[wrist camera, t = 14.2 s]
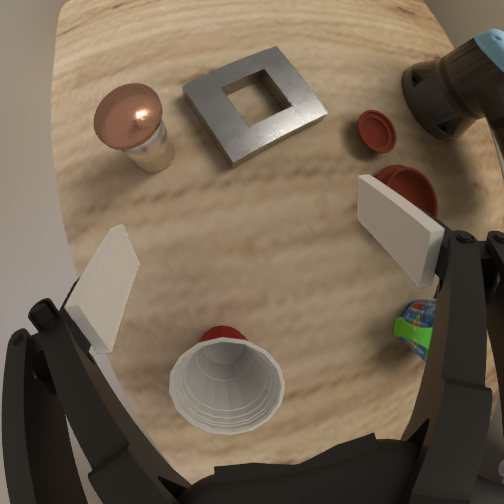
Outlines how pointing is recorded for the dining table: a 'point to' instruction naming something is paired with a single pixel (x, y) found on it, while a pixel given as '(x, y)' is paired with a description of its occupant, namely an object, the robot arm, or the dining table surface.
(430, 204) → the pottery
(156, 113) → the silver copper-capped cylinder
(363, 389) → the dining table surface
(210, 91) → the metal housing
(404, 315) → the snack cup
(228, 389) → the plastic cup
